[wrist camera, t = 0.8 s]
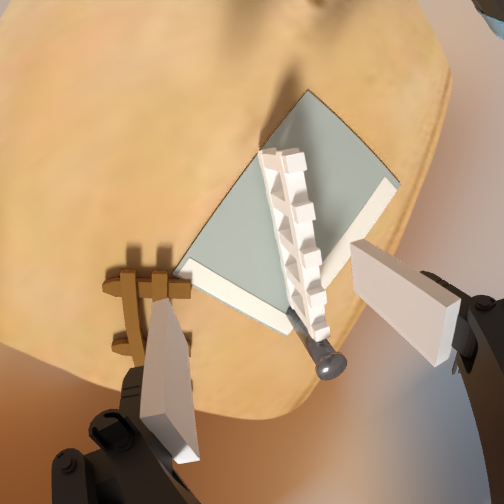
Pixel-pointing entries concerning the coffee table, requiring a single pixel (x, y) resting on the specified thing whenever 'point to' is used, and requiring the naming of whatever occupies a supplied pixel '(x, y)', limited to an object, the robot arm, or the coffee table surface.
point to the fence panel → (295, 236)
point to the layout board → (261, 224)
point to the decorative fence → (130, 293)
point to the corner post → (318, 350)
